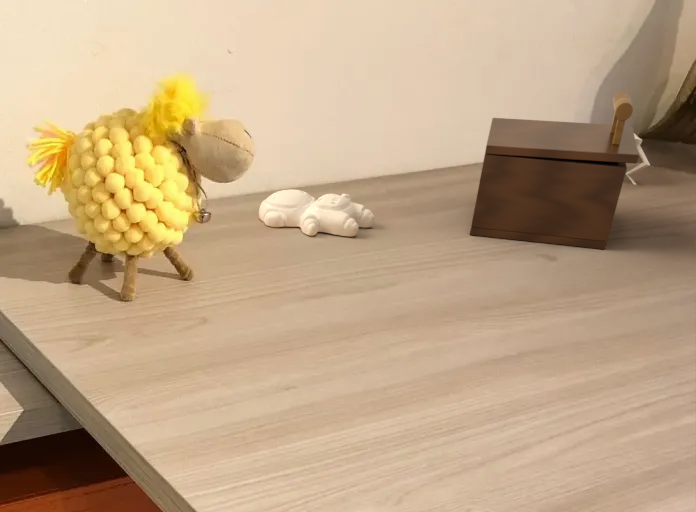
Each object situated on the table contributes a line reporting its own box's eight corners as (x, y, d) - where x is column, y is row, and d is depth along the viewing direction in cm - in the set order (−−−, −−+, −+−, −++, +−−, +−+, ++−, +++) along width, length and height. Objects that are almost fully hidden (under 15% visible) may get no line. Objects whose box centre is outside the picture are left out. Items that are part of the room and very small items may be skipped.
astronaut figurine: (342, 244, 104) (345, 213, 102) (243, 220, 109) (245, 190, 107) (382, 224, 110) (386, 194, 108) (286, 202, 115) (289, 173, 113)
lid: (630, 134, 109) (642, 85, 106) (636, 163, 100) (650, 111, 97) (491, 125, 112) (499, 77, 109) (484, 153, 103) (493, 102, 100)
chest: (601, 214, 114) (621, 137, 110) (604, 249, 105) (627, 167, 100) (476, 201, 117) (491, 126, 112) (469, 235, 108) (484, 154, 103)
